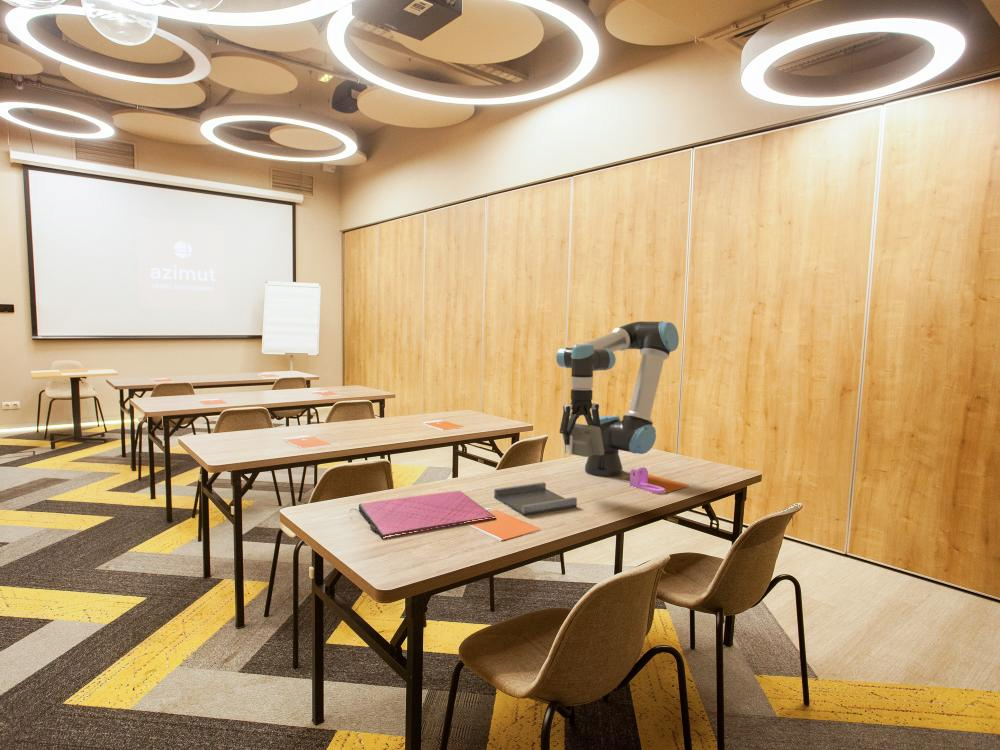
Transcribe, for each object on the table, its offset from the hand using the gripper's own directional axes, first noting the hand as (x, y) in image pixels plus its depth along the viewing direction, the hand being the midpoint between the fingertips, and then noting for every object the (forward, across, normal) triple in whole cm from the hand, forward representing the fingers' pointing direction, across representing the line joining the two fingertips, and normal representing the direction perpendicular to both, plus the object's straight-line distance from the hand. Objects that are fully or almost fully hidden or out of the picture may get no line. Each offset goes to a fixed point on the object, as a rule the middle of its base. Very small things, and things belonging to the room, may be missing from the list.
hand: (580, 452), depth 199 cm
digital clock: (+1, -1, 0) cm, 1 cm away
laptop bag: (+16, +58, -4) cm, 60 cm away
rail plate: (+15, +18, 0) cm, 24 cm away
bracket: (+16, -28, +5) cm, 32 cm away
